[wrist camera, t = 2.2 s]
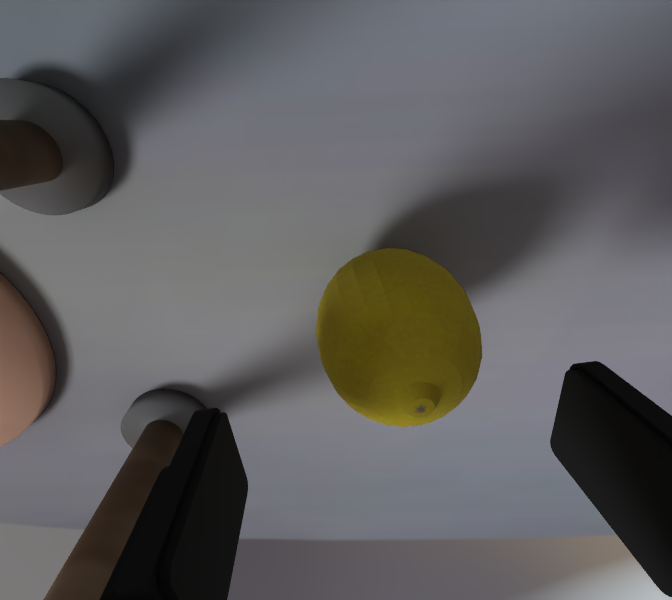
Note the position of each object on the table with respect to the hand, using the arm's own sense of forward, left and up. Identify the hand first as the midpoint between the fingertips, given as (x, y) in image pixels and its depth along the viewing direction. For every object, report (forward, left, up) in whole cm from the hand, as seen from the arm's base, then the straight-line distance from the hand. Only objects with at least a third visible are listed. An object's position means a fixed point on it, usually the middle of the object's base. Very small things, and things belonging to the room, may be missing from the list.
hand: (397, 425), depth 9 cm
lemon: (-1, +1, -8) cm, 8 cm away
